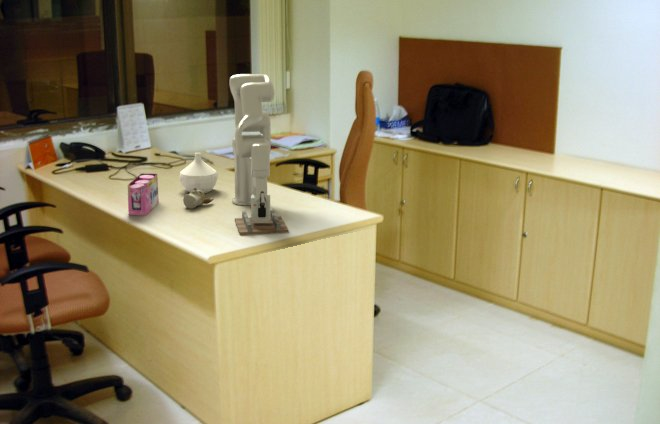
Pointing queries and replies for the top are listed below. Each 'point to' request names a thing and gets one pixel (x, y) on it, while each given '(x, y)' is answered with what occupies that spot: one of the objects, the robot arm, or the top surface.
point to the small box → (255, 210)
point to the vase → (198, 175)
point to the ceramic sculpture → (195, 199)
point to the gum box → (142, 194)
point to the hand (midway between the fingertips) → (260, 214)
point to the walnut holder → (260, 225)
